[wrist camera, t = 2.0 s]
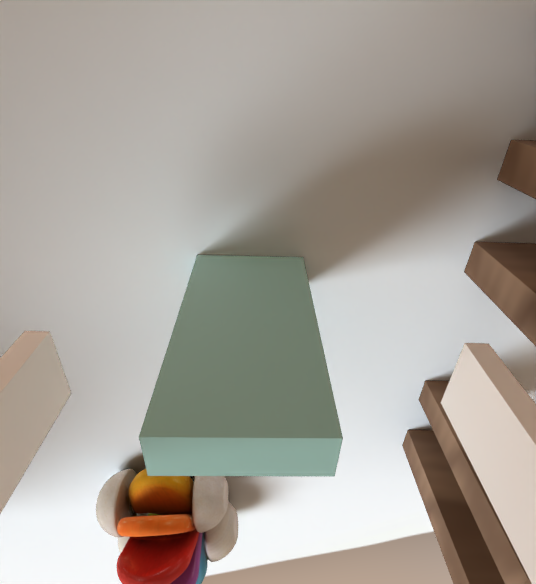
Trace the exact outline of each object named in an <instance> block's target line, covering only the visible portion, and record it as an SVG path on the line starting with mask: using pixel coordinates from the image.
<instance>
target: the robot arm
mask: <svg viewBox="0 0 536 584" xmlns="http://www.w3.org/2000/svg"><path fill="white" fill-rule="evenodd" d="M70 395H71V391H70V388H69V385H68V382H67V380H66V377H65V374H64V371H63V368H62V365H61V362H60V359H59V357H58V354H57V351H56V348H55V345H54V342H53V339H52V336H51V334H50V331H24V332H23V334H22V335H21V336H20V337H19V338H18V339H17V340H16V341H15V343H14V344H13V345H12V346H11V347H10V348H9V349H8V350H7V351H6V353H5V354H4V355H3V356H2V357H1V358H0V514H1V512H2V510H3V508H4V507H5V505H6V503H7V502H8V500H9V498H10V497H11V495H12V493H13V492H14V490H15V488H16V486H17V485H18V483H19V481H20V480H21V478H22V476H23V475H24V473H25V471H26V469H27V468H28V466H29V464H30V463H31V461H32V459H33V458H34V456H35V454H36V453H37V451H38V449H39V447H40V446H41V444H42V442H43V441H44V439H45V437H46V436H47V434H48V432H49V430H50V429H51V427H52V425H53V424H54V422H55V420H56V419H57V417H58V415H59V414H60V412H61V410H62V408H63V407H64V405H65V403H66V402H67V400H68V398H69V397H70ZM441 404H442V406H443V408H444V410H445V412H446V414H447V416H448V418H449V420H450V422H451V424H452V426H453V428H454V430H455V432H456V434H457V436H458V438H459V440H460V442H461V444H462V446H463V448H464V450H465V452H466V454H467V456H468V458H469V460H470V462H471V464H472V466H473V468H474V470H475V472H476V474H477V476H478V478H479V480H480V482H481V484H482V486H483V488H484V490H485V492H486V494H487V496H488V498H489V500H490V502H491V504H492V506H493V508H494V510H495V512H496V514H497V516H498V518H499V520H500V522H501V524H502V526H503V528H504V530H505V531H506V533H507V535H508V537H509V539H510V541H511V543H512V545H513V547H514V549H515V551H516V553H517V555H518V557H519V559H520V561H521V563H522V565H523V567H524V569H525V571H526V573H527V575H528V577H529V579H530V581H531V583H532V584H536V404H535V403H534V401H533V400H532V399H531V398H530V396H529V395H528V394H527V392H526V391H525V390H524V389H523V387H522V386H521V385H520V383H519V382H518V381H517V380H516V378H515V377H514V376H513V374H512V373H511V372H510V370H509V369H508V368H507V367H506V365H505V364H504V363H503V361H502V360H501V359H500V358H499V356H498V355H497V354H496V352H495V351H494V350H493V349H492V347H491V346H490V345H489V344H485V343H465V344H464V346H463V349H462V351H461V354H460V356H459V359H458V361H457V364H456V366H455V369H454V371H453V374H452V376H451V378H450V381H449V383H448V386H447V388H446V391H445V393H444V396H443V398H442V401H441Z"/></svg>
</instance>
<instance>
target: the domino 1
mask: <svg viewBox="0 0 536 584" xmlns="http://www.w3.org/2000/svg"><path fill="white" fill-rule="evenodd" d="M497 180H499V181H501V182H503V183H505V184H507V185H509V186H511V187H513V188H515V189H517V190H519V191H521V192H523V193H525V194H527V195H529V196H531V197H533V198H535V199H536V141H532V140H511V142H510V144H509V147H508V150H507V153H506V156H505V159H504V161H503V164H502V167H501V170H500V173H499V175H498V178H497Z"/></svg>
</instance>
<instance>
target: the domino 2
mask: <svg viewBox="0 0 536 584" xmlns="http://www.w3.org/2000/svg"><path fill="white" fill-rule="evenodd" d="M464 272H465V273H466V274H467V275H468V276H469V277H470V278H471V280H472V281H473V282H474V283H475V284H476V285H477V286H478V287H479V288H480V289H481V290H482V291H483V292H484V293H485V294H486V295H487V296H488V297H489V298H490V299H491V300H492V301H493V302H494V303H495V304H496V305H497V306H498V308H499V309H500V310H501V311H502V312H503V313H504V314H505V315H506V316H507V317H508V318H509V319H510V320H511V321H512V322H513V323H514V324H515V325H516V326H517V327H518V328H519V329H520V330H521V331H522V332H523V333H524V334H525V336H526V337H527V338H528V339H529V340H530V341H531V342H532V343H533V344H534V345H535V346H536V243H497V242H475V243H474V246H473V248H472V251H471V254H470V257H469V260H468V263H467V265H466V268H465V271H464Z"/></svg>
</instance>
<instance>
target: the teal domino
mask: <svg viewBox="0 0 536 584" xmlns="http://www.w3.org/2000/svg"><path fill="white" fill-rule="evenodd" d="M139 440H140V444H141V449H142V453H143V457H144V462H145V466H146V470H147V475H148V476H335V472H336V467H337V463H338V458H339V453H340V449H341V444H342V440H343V437H342V433H341V428H340V424H339V419H338V414H337V410H336V405H335V401H334V396H333V392H332V387H331V382H330V378H329V373H328V369H327V364H326V360H325V355H324V351H323V346H322V341H321V337H320V332H319V328H318V323H317V319H316V314H315V309H314V305H313V300H312V296H311V291H310V287H309V282H308V277H307V273H306V268H305V264H304V259H303V257H273V256H229V255H197V257H196V261H195V264H194V267H193V270H192V273H191V276H190V279H189V282H188V286H187V289H186V292H185V295H184V298H183V301H182V304H181V307H180V310H179V314H178V317H177V320H176V323H175V326H174V329H173V332H172V335H171V339H170V342H169V345H168V348H167V351H166V354H165V357H164V360H163V364H162V367H161V370H160V373H159V376H158V379H157V382H156V385H155V388H154V392H153V395H152V398H151V401H150V404H149V407H148V410H147V413H146V417H145V420H144V423H143V426H142V429H141V432H140V435H139Z"/></svg>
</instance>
